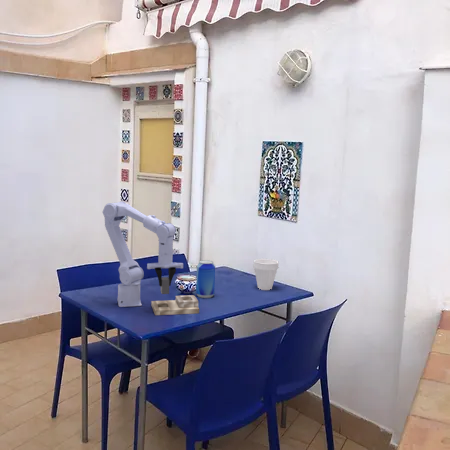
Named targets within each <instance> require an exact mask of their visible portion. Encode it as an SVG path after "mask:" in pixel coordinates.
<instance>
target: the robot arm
mask: <svg viewBox="0 0 450 450" xmlns="http://www.w3.org/2000/svg"><path fill="white" fill-rule="evenodd" d="M102 214H103V216H104V228H105V230H106V232H107V234H108V237H109V239H110V242H111V245H112V247H113V250H114V252H115V255H116V256H117V259H118V262H119V264H120V265H119V267H118V273H119V281H120V282H121V283H118V285H117V298H116V299H117V305H118V307H120V308H121V307H123V308H124V307H125V308H127V307H142V302H141V282H142V280H143V279H144V276H145V275H144V270H143V268H142V267H140V265H139V263H138V262H137V261H136V260H135V259H133V256H132V254H131V252H130V249H129V247H128V244H127V241H126V240H125V237H124V234H123V232H122V230H121V227H120V225H121V222H122V220H123V219H125V217H129V218H131V219H133V220H135V221H137V222H140V223H142V225H143V228H144V229H147V230H149V231H151V232H152V233H154V234H156V236H157V238H158V256H157V257H158V258H157V259H158V262H151V263H149V262H148V263H147V264H146V265H147V266H146V269H147V270H151V269H152V270H153V269H154V270H155V272H156V276H157V280H158V285H159V287H161V286H162V280H161V278H162V277H163V276H162V274H163V271H162V269H168V272H167V273H168V276H167V277H168V278H169V287H171V284H172V280H173V278H174V276H175V274H176V272H177V269H184V263H183V262H173V259H174V258H173V254H174V253H173V252H174V248H173V247H174V236H175V235H176V232H177V230H176V226H175V225H174V224H173V223H171V222H167V223H166V221H165V220H161V219H160V218H157V216H156V215H155V214H149V215H146V214H145V213H142V212H141V211H140V210H138V209H136V208H135V207H133V206H132V205H130V203H126V202H125V201H118V202H108V203H106V204H105V205H104V208H103V210H102Z"/></svg>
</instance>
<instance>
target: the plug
mask: <svg viewBox="0 0 450 450" xmlns="http://www.w3.org/2000/svg"><path fill="white" fill-rule="evenodd" d="M168 277H169V276H167V277H166V276H165V277H164V276H162V278H161V280H162V286H160V293H161V295H169V294H170V286H169V278H168Z"/></svg>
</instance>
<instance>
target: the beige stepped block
mask: <svg viewBox="0 0 450 450" xmlns="http://www.w3.org/2000/svg"><path fill="white" fill-rule="evenodd" d="M150 303H151V304H150V306H151V308H152V312H153V314H154V316H167V315H168V316H169V315H171V316H172V315H188V314H189V315H193V314H200V308H199V300H198V298H197V297H196V296H195V295H194V294H191V295H190V294H189V295H187V294H186V295H175V299H174V300H173V299H171V300H151V301H150Z"/></svg>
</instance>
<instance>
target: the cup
mask: <svg viewBox="0 0 450 450" xmlns="http://www.w3.org/2000/svg"><path fill="white" fill-rule="evenodd" d="M279 264H280V263H279V261H278V260H277V259H273V258H256V259H254V260H253V270H254V273H255V275H254V276H255V280H256V284H257V288H259V289H258V290H260V289H261V290H260V291H270V289H271V290H272V289H273V285H274V282H275V279H276V275H277V272H278V269H279Z"/></svg>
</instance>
